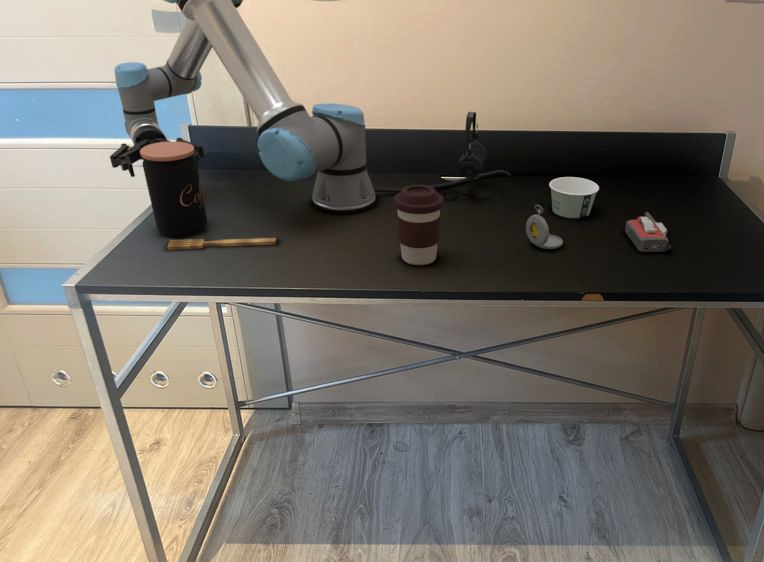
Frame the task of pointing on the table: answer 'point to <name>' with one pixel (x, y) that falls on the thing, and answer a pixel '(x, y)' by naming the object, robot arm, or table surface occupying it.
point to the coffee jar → (174, 188)
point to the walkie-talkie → (647, 234)
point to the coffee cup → (418, 223)
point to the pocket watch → (541, 232)
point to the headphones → (471, 153)
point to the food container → (572, 196)
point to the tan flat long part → (218, 243)
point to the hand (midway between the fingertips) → (164, 166)
